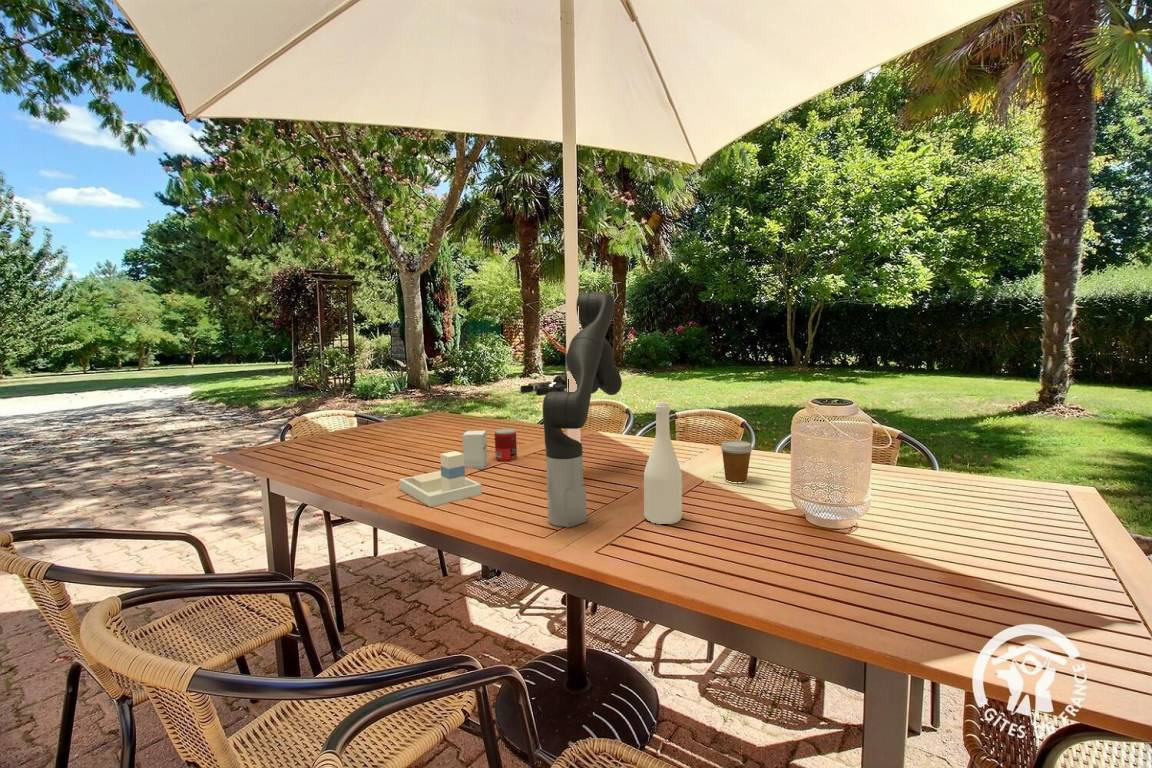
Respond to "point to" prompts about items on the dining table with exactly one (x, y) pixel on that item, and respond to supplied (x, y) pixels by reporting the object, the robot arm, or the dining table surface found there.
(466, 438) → the supplement box
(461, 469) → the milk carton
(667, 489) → the wine bottle
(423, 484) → the cream rectangular block
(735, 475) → the brown clear cup
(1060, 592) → the dining table surface
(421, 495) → the tray
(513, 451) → the canned food
